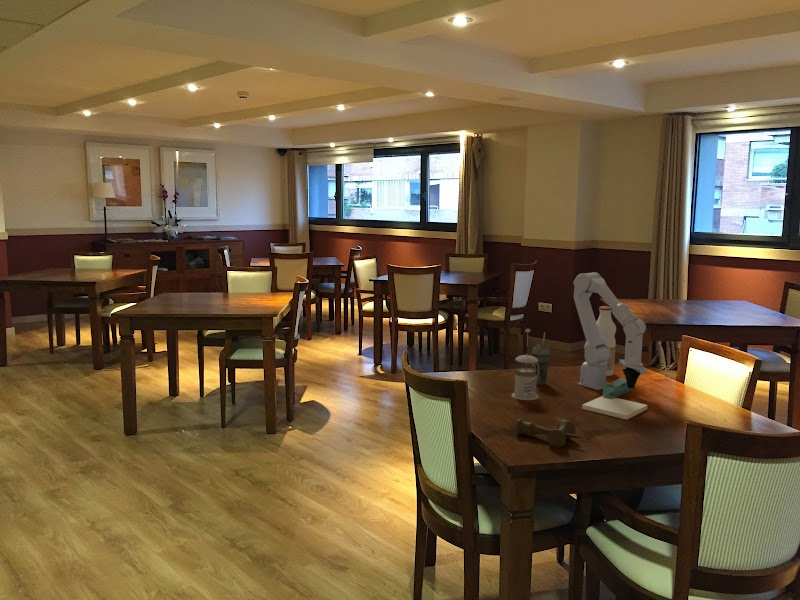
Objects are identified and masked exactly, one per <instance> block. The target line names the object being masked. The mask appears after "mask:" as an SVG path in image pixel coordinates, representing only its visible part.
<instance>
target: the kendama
mask: <svg viewBox="0 0 800 600" xmlns="http://www.w3.org/2000/svg"><path fill="white" fill-rule="evenodd" d="M555 427H556V428H553V429H550V428H547V427H544V426H541V425H538V424H536V422H534V421H531V422H530V421H529V422H528V421H526V420H524V418H518V419H517V421H516V425H515V432H516V435H517V436H521V435H529V437H533V436H535V435H545V436H546V435H547V437H546V438H547V439H546V440H547V442H548V444H549V445H550V446H551V447H554V448H558V449H559V448H560V449H561V448H563V447H564V446H565V445H566V442H567V440H571V439H583V436H582V435H577V434H576V432H577V430H576V425H575V423H574V422H572V421H571V420H567V419H561V420H558V422H557V423H556V426H555Z"/></svg>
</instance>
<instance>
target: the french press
mask: <svg viewBox="0 0 800 600" xmlns="http://www.w3.org/2000/svg"><path fill="white" fill-rule="evenodd" d="M524 332H525V333H527V336H526V346H528V341H529V333H531V329H530V328H526V329H525V331H524ZM515 361H516V362H518V363H520V364H521V363H522V364H525V367H517V368H516V370H515V371H516V372H515V374H514V392H513V393H512V394H511V397H512V398H513V399H516V400H521V401H536V400H538V399H539V395H538V394H537V384H536V381H537V378H538V376H537V375H536V374H535V372H536V367H535V369H533V368H528V366H527V365H528V364H530V365H531V366H532V367H533V366H535V363H537V361H538V359H536V358H535V357H533V356H532V355H529V354H523V355H518V356H517V357H515ZM533 363H534V365H533ZM537 364H538V363H537ZM538 368H539V365H538ZM532 374H533V375H532ZM538 375H539V371H538Z"/></svg>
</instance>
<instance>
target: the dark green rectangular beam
mask: <svg viewBox="0 0 800 600" xmlns="http://www.w3.org/2000/svg"><path fill="white" fill-rule="evenodd" d="M628 392H631V389H629V388H628V386H627V381H626V377H625V378H624V377H620V378H618V379H616V380H613V381H611V382H609V383H606V385H604V387H603V389H602V396H604V395H610V396H614V398H619V397H621V396H623V395H624V394H627V393H628Z"/></svg>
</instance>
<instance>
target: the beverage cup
mask: <svg viewBox="0 0 800 600" xmlns="http://www.w3.org/2000/svg"><path fill="white" fill-rule="evenodd" d="M545 339H546V332H544V333H543V338H542V343H538V344H536V345H534V347H533V349H532V351H531V356H533V357H535V358H536V359H538V361H537V363H538V364H537V363H535V366H532V369H535V367H536V372H535V374H536V375H537V376H538V378H537V381H536V385H542V386H543V385H546V383H547V377H548V370H549V363H550V360H551V356H552V355H551V350H550V347H549V346H548V345H546V344H545ZM532 365H534V363H532ZM538 365H539V368H538ZM538 371H539V375H538Z"/></svg>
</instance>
